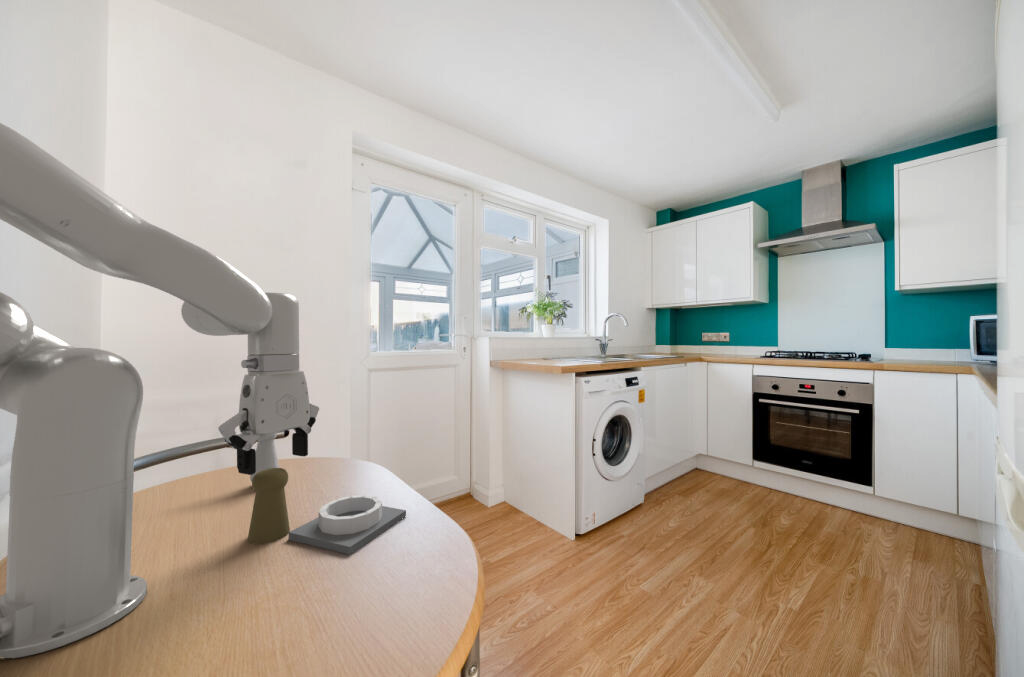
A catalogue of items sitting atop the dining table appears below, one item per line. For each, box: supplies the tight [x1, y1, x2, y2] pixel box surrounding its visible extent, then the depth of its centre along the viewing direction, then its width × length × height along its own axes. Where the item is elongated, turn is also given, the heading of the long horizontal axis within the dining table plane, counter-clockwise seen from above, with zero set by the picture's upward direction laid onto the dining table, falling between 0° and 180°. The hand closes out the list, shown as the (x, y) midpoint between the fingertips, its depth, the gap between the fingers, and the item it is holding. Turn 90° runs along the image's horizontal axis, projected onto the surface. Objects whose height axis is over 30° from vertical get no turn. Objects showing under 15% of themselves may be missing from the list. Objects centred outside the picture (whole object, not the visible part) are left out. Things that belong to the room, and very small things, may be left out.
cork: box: [247, 467, 291, 545], centre depth 63 cm, size 6×6×11 cm
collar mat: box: [288, 494, 407, 555], centre depth 66 cm, size 14×13×4 cm
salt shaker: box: [249, 433, 280, 483], centre depth 87 cm, size 6×6×13 cm
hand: (275, 463), depth 64 cm, fingers open, 9 cm apart
